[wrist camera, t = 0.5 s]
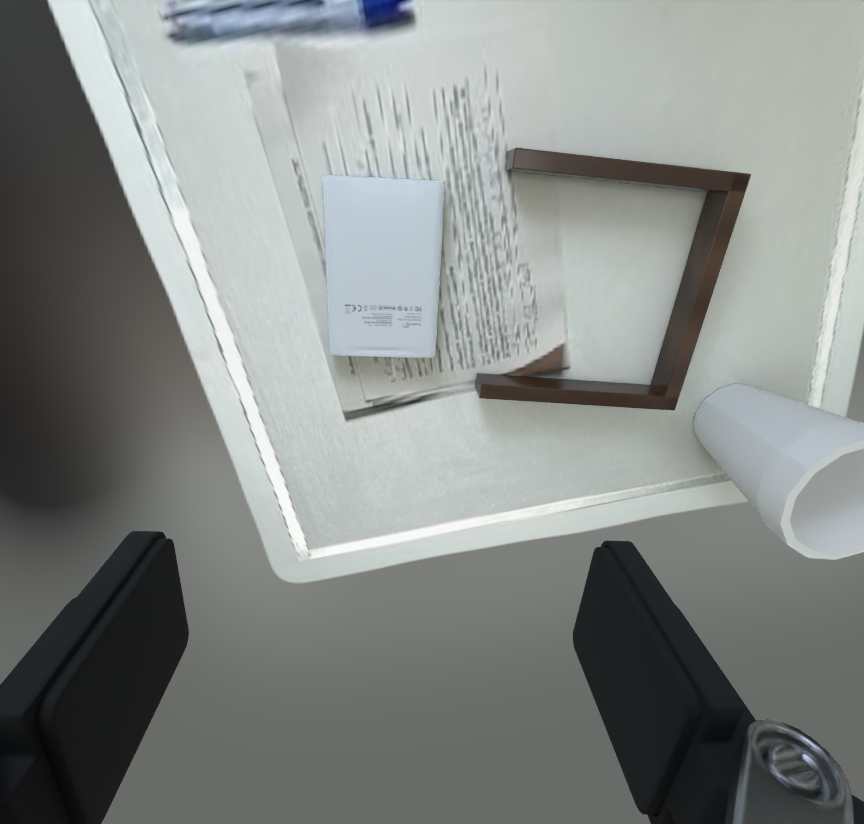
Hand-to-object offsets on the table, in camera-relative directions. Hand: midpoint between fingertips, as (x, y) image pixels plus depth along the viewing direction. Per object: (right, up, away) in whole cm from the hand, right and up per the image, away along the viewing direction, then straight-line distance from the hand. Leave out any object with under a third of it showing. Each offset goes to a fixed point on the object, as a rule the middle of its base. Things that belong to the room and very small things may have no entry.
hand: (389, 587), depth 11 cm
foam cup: (+27, +4, +32) cm, 42 cm away
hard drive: (-3, +15, +25) cm, 29 cm away
